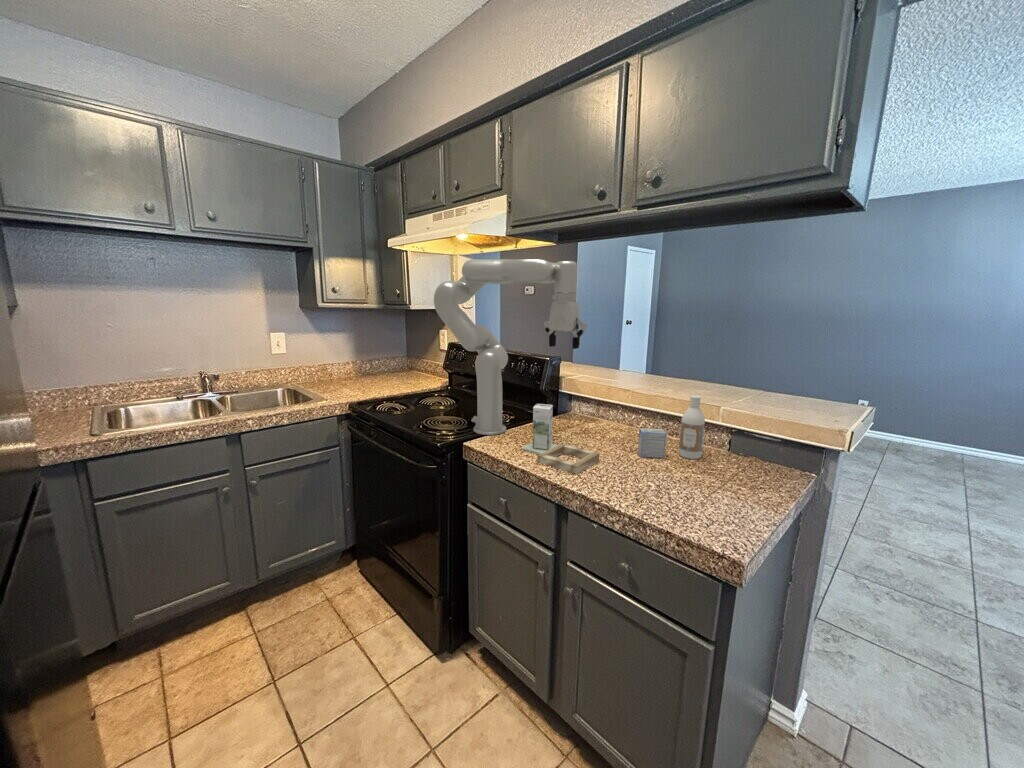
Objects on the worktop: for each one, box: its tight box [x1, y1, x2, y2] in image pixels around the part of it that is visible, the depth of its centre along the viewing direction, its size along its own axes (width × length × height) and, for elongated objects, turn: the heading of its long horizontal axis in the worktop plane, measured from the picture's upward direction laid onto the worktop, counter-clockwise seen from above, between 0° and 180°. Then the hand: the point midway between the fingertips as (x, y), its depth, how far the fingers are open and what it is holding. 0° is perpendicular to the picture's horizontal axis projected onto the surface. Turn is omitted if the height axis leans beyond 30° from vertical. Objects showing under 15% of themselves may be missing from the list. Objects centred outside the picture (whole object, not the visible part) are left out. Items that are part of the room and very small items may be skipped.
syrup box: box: [532, 403, 554, 450], centre depth 141 cm, size 6×6×14 cm
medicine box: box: [637, 427, 668, 459], centre depth 137 cm, size 8×4×9 cm, turn 84°
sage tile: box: [520, 441, 559, 455], centre depth 142 cm, size 10×10×1 cm
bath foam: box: [678, 395, 706, 460], centre depth 136 cm, size 7×7×20 cm
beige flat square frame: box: [537, 443, 600, 475], centre depth 131 cm, size 14×14×2 cm
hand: (563, 347), depth 149 cm, fingers open, 9 cm apart
